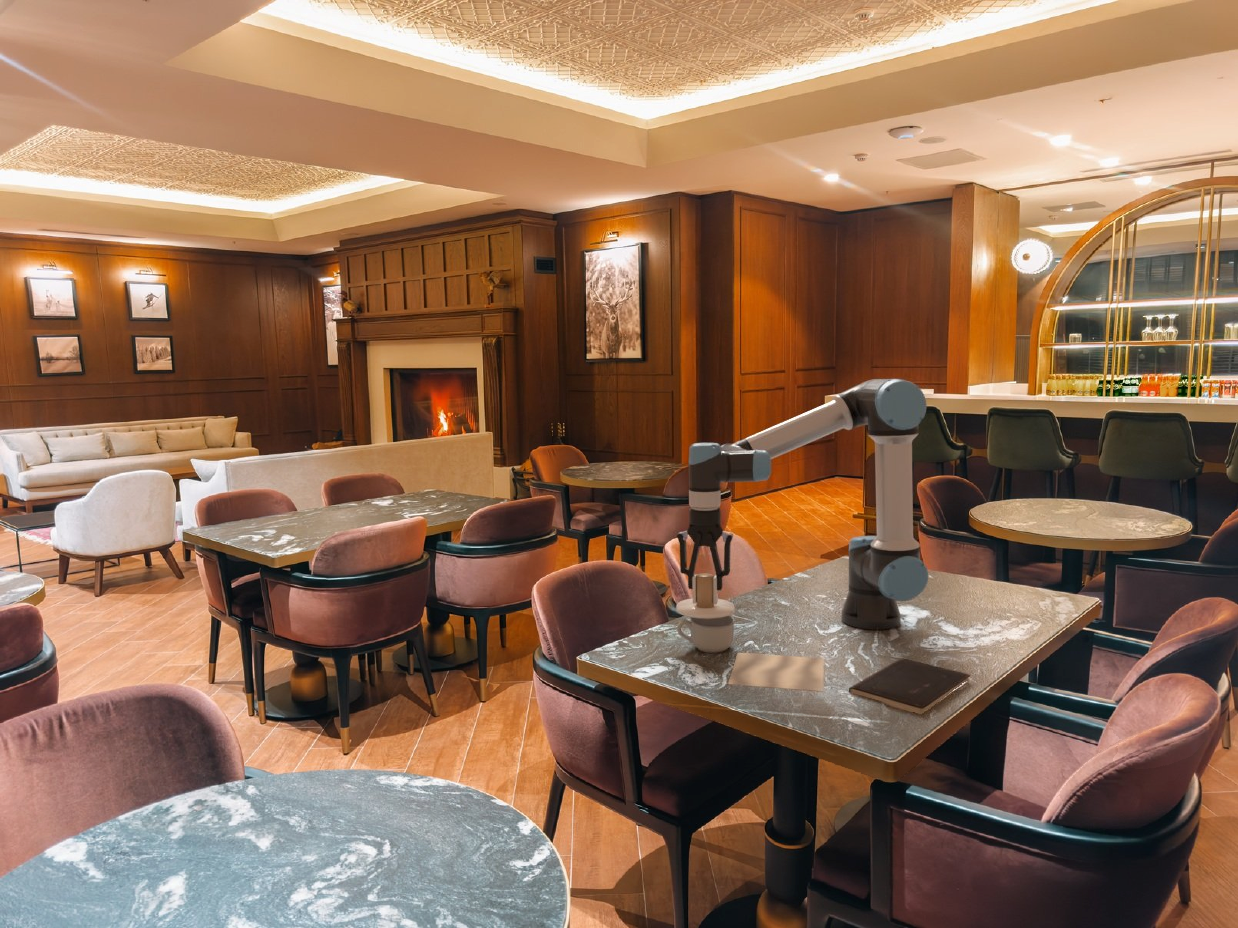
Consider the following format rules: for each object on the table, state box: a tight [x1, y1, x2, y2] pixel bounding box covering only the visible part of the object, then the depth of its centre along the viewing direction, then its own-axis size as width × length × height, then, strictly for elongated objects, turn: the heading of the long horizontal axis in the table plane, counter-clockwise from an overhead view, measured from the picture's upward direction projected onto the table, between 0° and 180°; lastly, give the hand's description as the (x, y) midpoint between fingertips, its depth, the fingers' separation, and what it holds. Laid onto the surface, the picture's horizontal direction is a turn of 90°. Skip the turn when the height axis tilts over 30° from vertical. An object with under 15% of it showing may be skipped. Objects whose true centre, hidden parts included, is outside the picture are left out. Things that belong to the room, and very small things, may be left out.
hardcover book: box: [848, 657, 971, 715], centre depth 175 cm, size 16×23×2 cm
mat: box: [727, 652, 825, 692], centre depth 185 cm, size 20×20×1 cm
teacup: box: [676, 615, 735, 654], centre depth 200 cm, size 14×11×8 cm
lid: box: [676, 572, 735, 619], centre depth 199 cm, size 14×14×8 cm
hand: (705, 602), depth 200 cm, fingers closed on lid, 4 cm apart
